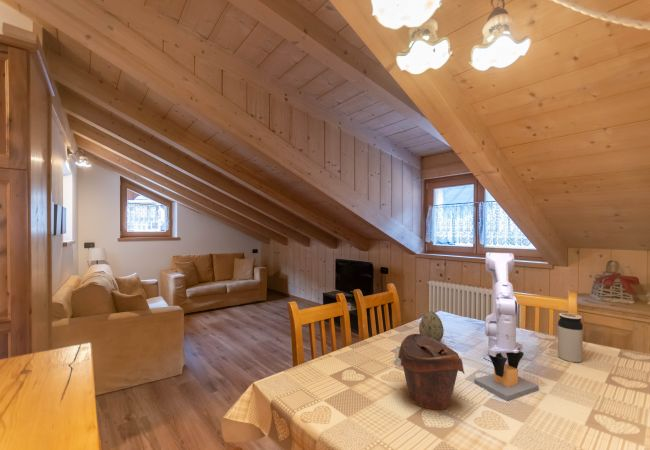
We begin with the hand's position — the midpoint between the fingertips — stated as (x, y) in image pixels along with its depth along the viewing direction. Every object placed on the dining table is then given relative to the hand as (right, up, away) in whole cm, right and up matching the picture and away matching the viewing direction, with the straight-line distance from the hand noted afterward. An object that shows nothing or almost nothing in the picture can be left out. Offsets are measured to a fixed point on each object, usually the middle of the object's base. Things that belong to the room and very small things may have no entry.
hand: (505, 373), depth 106 cm
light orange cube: (0, -3, 0) cm, 3 cm away
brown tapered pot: (-28, -4, -8) cm, 30 cm away
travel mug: (+40, -5, +23) cm, 46 cm away
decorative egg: (-12, -5, +38) cm, 41 cm away
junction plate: (0, -4, 0) cm, 4 cm away
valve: (-28, -5, +18) cm, 34 cm away
